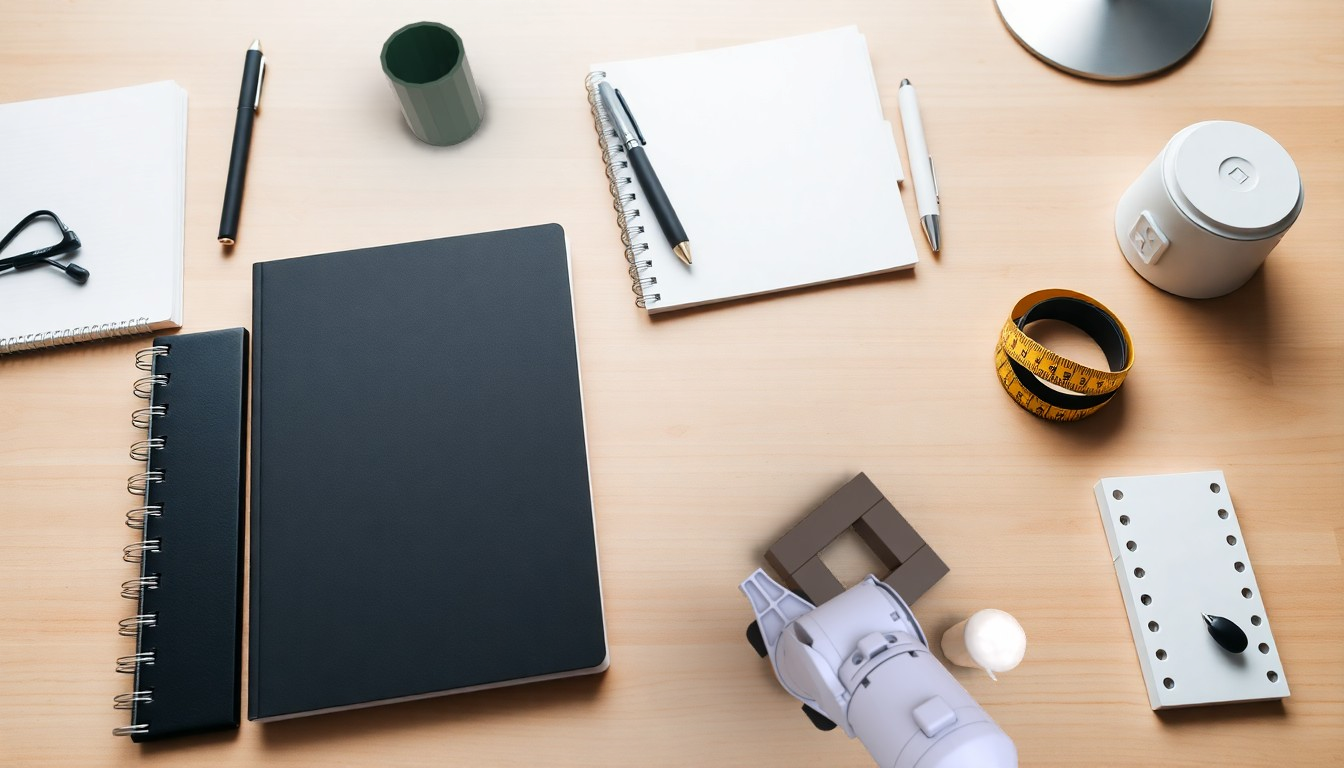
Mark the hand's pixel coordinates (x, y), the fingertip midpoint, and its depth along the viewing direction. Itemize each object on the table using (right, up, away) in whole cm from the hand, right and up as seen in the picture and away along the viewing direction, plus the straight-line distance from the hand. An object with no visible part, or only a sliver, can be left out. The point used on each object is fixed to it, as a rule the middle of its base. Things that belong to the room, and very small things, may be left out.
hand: (797, 661), depth 67 cm
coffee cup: (-34, +51, +21) cm, 65 cm away
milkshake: (+14, 0, +2) cm, 14 cm away
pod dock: (+5, +7, +5) cm, 10 cm away
